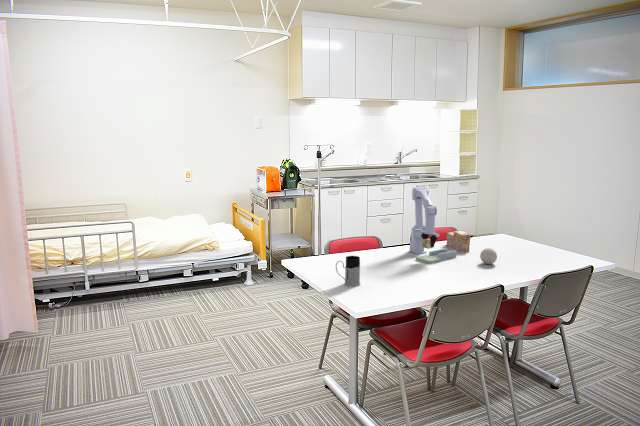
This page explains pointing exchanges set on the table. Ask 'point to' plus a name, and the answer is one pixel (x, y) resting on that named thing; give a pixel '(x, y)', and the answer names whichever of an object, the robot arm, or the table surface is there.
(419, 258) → the pale green block
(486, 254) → the eye model
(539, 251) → the table surface
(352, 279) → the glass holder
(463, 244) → the stack of blocks
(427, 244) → the maple block
